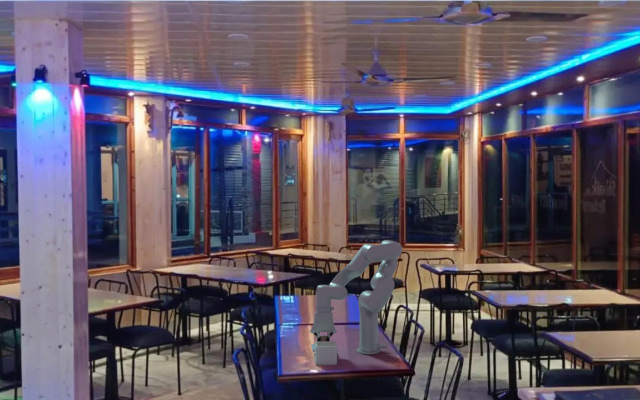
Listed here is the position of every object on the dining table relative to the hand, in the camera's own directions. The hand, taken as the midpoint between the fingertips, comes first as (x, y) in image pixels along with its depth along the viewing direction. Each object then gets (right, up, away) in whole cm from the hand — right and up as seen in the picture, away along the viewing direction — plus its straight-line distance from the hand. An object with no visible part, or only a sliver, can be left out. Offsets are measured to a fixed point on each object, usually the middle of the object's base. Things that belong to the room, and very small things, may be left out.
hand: (323, 344), depth 312 cm
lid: (0, -2, 0) cm, 2 cm away
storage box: (+1, -5, -14) cm, 15 cm away
